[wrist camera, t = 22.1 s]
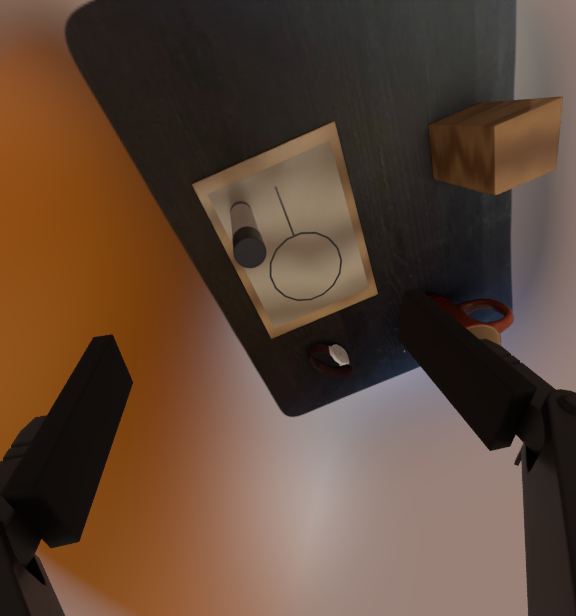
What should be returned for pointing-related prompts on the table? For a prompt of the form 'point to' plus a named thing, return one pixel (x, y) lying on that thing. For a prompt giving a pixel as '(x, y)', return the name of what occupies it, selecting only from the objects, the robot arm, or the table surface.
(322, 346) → the watch
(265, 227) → the sketch pad
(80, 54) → the table surface
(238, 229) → the marker
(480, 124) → the wooden block
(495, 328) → the mug
